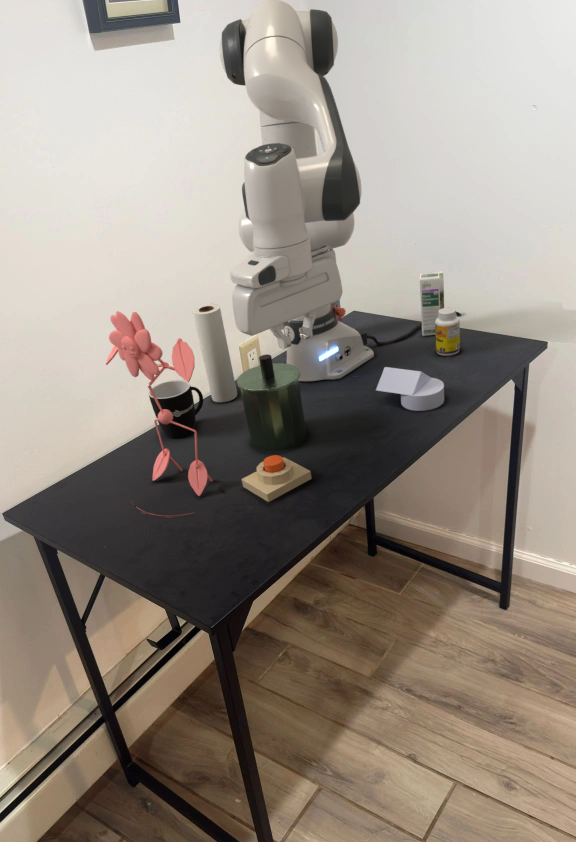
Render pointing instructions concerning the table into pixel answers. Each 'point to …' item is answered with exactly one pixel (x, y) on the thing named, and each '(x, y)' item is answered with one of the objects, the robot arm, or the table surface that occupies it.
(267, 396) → the dark green cylinder
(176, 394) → the mug
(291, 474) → the switch base
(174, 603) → the table surface
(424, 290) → the syrup box
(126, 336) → the figurine
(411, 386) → the wedge on round base
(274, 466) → the power button
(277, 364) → the kettle lid
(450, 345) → the supplement bottle
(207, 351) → the paper towel roll
